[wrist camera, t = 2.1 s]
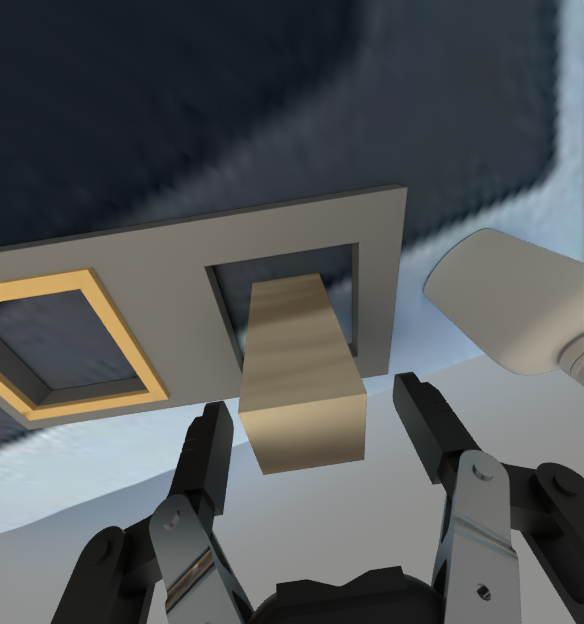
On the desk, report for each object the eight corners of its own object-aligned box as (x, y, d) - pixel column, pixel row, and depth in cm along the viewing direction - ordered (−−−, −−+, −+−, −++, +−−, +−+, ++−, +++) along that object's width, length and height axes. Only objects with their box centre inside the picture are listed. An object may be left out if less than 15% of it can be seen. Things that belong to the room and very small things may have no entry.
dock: (-122, 266, 15) (-170, 280, 13) (395, 183, 14) (411, 188, 13) (41, 413, 22) (24, 434, 21) (380, 361, 22) (389, 377, 21)
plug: (252, 283, 17) (238, 413, 9) (318, 272, 17) (366, 393, 9) (265, 335, 20) (263, 475, 11) (323, 326, 20) (364, 459, 11)
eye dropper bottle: (502, 273, 18) (788, 427, 8) (425, 307, 19) (593, 480, 9) (498, 218, 16) (883, 338, 6) (412, 260, 17) (614, 421, 7)
